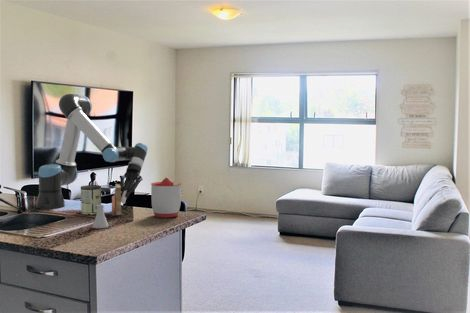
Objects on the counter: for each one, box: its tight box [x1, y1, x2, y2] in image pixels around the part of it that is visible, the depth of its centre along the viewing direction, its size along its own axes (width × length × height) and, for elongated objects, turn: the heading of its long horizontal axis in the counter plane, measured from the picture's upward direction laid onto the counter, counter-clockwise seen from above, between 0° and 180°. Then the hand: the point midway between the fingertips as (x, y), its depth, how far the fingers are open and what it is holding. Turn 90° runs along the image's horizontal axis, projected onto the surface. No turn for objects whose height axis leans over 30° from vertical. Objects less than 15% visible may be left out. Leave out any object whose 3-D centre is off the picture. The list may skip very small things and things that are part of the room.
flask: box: [92, 204, 109, 229], centre depth 210 cm, size 7×7×10 cm
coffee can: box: [80, 184, 102, 215], centre depth 242 cm, size 10×10×14 cm
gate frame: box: [111, 195, 117, 217], centre depth 243 cm, size 15×3×12 cm, turn 6°
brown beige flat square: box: [114, 183, 122, 216], centre depth 240 cm, size 15×2×14 cm, turn 17°
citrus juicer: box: [150, 177, 183, 219], centre depth 237 cm, size 16×17×20 cm
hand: (122, 202), depth 240 cm, fingers closed
